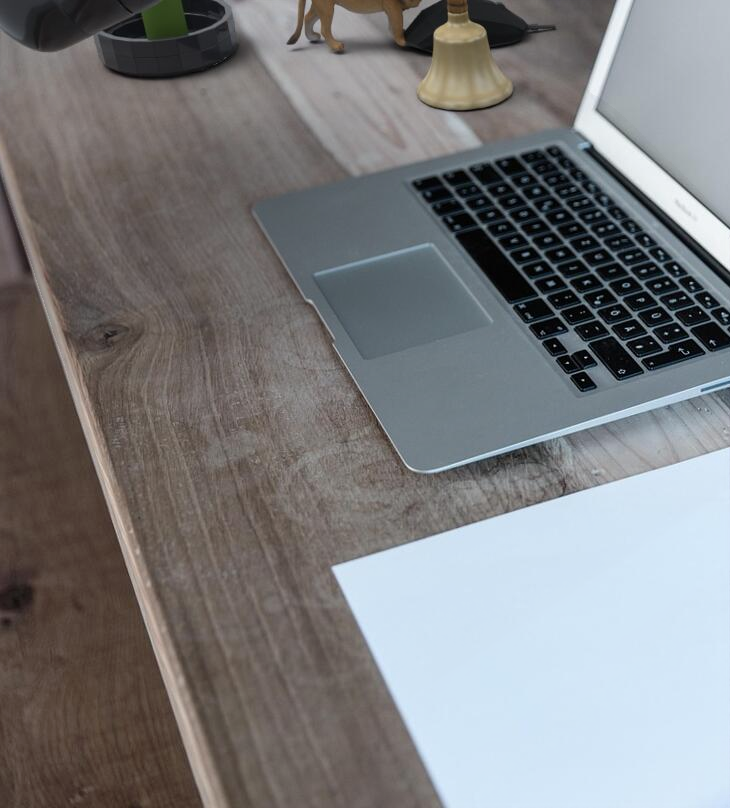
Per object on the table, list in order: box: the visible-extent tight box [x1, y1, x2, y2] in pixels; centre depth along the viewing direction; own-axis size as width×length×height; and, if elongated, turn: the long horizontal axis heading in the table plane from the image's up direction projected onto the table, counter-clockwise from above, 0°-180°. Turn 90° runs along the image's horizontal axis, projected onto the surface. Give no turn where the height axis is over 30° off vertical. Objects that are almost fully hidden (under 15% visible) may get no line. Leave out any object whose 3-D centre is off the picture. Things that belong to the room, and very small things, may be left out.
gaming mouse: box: [403, 0, 557, 54], centre depth 114 cm, size 6×15×4 cm, turn 111°
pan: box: [92, 0, 239, 78], centre depth 111 cm, size 12×12×4 cm
